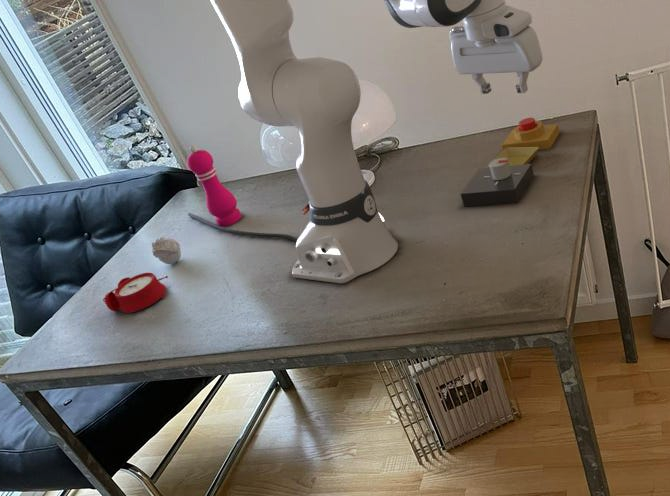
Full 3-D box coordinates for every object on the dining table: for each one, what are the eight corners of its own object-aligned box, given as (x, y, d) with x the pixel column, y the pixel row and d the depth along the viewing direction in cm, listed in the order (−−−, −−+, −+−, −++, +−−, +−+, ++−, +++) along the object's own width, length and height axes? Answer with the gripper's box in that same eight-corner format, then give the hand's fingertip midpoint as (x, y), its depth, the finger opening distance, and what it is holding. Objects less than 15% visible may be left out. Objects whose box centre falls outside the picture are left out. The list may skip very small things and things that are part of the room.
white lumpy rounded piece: (157, 273, 173) (142, 247, 169) (167, 258, 178) (153, 233, 174) (180, 267, 171) (165, 241, 167) (190, 252, 177) (176, 227, 173)
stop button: (518, 132, 168) (516, 125, 167) (523, 126, 170) (521, 118, 169) (533, 131, 166) (531, 123, 165) (538, 124, 168) (536, 116, 167)
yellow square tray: (523, 174, 158) (521, 165, 157) (489, 174, 163) (486, 165, 162) (541, 155, 163) (539, 146, 162) (508, 156, 168) (506, 147, 167)
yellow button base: (503, 153, 170) (499, 137, 168) (514, 138, 175) (511, 122, 173) (549, 148, 165) (546, 131, 163) (559, 133, 170) (556, 116, 168)
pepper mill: (242, 210, 189) (206, 135, 178) (244, 220, 184) (207, 143, 172) (215, 221, 189) (177, 147, 177) (217, 231, 183) (177, 155, 171)
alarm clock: (145, 297, 155) (83, 290, 158) (154, 321, 159) (94, 314, 162) (171, 269, 162) (111, 263, 166) (179, 293, 166) (121, 287, 170)
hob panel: (464, 206, 154) (459, 193, 152) (482, 181, 161) (478, 168, 160) (518, 202, 148) (514, 188, 147) (534, 176, 156) (531, 162, 154)
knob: (490, 181, 153) (486, 166, 151) (495, 172, 156) (492, 157, 154) (508, 179, 151) (504, 164, 149) (513, 170, 154) (510, 155, 152)
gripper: (437, 33, 150) (457, 99, 158) (518, 26, 137) (535, 98, 145) (456, 21, 153) (475, 86, 161) (537, 12, 140) (553, 84, 148)
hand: (504, 92), depth 153 cm, fingers open, 8 cm apart
